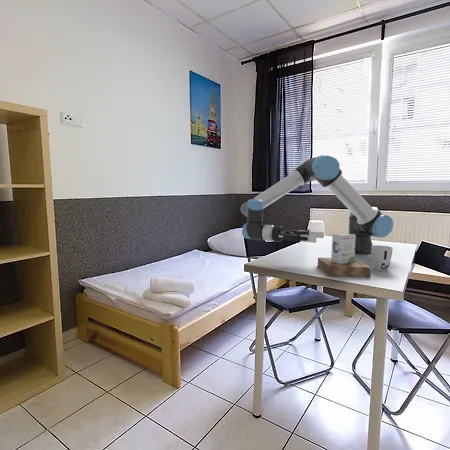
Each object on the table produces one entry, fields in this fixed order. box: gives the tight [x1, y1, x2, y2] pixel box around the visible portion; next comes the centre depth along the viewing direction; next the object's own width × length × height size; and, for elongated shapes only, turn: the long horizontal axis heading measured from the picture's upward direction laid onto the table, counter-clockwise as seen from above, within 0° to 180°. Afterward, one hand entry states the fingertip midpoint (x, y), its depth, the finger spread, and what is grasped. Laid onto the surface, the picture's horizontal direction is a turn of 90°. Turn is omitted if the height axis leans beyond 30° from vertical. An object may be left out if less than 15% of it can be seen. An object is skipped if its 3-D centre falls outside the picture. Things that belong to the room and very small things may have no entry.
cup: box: [370, 244, 394, 272], centre depth 128 cm, size 8×8×10 cm
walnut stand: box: [317, 257, 372, 278], centre depth 125 cm, size 16×16×4 cm
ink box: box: [330, 233, 356, 264], centre depth 124 cm, size 9×5×12 cm, turn 114°
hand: (320, 237), depth 128 cm, fingers open, 13 cm apart
